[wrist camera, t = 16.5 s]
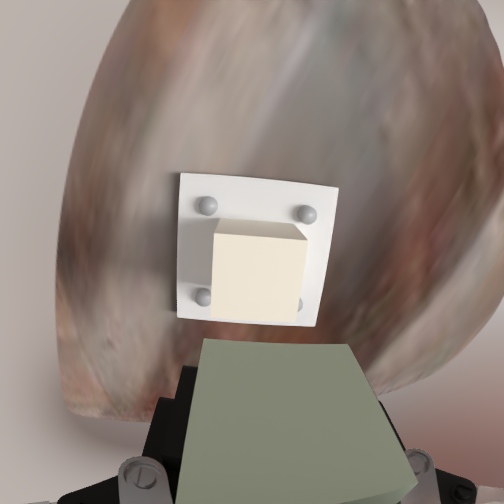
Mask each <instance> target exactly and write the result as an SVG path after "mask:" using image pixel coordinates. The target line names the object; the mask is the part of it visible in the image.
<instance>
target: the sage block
mask: <svg viewBox="0 0 504 504" xmlns="http://www.w3.org/2000/svg"><path fill="white" fill-rule="evenodd" d="M417 484H418V481H417V478H416V476H415V474H414V472H413V470H412V468H411V466H410V464H409V461H408V459H407V457H406V455H405V453H404V451H403V449H402V447H401V445H400V443H399V441H398V439H397V437H396V435H395V433H394V431H393V429H392V427H391V425H390V423H389V421H388V419H387V417H386V415H385V413H384V411H383V409H382V407H381V405H380V404H379V402H378V400H377V398H376V396H375V394H374V392H373V390H372V388H371V386H370V384H369V383H368V381H367V379H366V377H365V375H364V373H363V371H362V369H361V368H360V366H359V364H358V362H357V360H356V358H355V357H354V355H353V353H352V351H351V349H350V347H349V346H348V344H282V343H260V342H243V341H229V340H216V339H205V338H204V341H203V346H202V351H201V356H200V361H199V367H198V372H197V377H196V382H195V388H194V393H193V399H192V404H191V410H190V415H189V421H188V427H187V433H186V439H185V445H184V451H183V457H182V463H181V469H180V476H179V482H178V489H177V496H176V502H175V504H397V503H398V502H399V501H400V500H401V499H402V498H403V497H404V496H405V495H407V494H408V493H409V492H410V491H411V490H412V489H413V488H414V487H415V486H416V485H417Z"/></svg>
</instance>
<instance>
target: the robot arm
mask: <svg viewBox="0 0 504 504" xmlns="http://www.w3.org/2000/svg"><path fill="white" fill-rule="evenodd" d="M197 372H198V367H193V366H184V365H183V368H182V371H181V375H180V379H179V383H178V387H177V391H176V395H175V399H171V398H164V397H160V398H159V400H158V402H157V405H156V409H155V412H154V415H153V419H152V422H151V425H150V429H149V432H148V436H147V439H146V442H145V446H144V449H143V453H142V456H138V457H132V458H130V459H127V460H126V461H125V462H123V463H122V464H121V466H120V468H119V471H118V475H117V476H115V477H112V478H110V479H107V480H105V481H102V482H100V483H97V484H94V485H92V486H89V487H86V488H83V489H80V490H77V491H74V492H71V493H68V494H66V495H64V496H62V497H61V498H60V499H59V500H58V502H53V503H50V502H49V501H45V502H38V503H29V504H175V502H176V496H177V489H178V482H179V476H180V469H181V463H182V457H183V451H184V445H185V439H186V433H187V427H188V421H189V415H190V410H191V404H192V399H193V393H194V388H195V382H196V377H197ZM365 377H366V376H365ZM366 379H367V378H366ZM367 381H368V380H367ZM368 383H369V382H368ZM373 392H374V391H373ZM374 394H375V393H374ZM375 396H376V395H375ZM376 398H377V397H376ZM377 400H378V399H377ZM378 402H379V404H380V405H381V407H382V409H383V411H384V413H385V415H386V417H387V419H388V421H389V423H390V425H391V427H392V429H393V431H394V433H395V435H396V437H397V439H398V441H399V443H400V445H401V447H402V449H403V451H404V453H405V455H406V457H407V459H408V461H409V464H410V466H411V468H412V470H413V472H414V474H415V476H416V478H417V481H418V484H417V485H416V486H415V487H414V488H413V489H412V490H411V491H410V492H409V493H408V494H407V495H405V496H404V497H403V498H402V499H401V500H400V501H399V502H398V503H397V504H504V489H502V488H493V487H486V486H481V485H478V486H477V487H475V485H474V483H472V482H471V481H470V480H468V479H465V478H462V477H459V476H456V475H453V474H450V473H447V472H445V471H441V470H439V469H436V468H435V467H434V462H433V459H432V457H431V456H430V455H429V454H428V453H426V452H425V451H424V450H421V449H416V448H413V449H408V450H406V449H405V447H404V446H403V443H402V442H401V439H400V437H399V435H398V433H397V431H396V430H395V428H394V426H393V424H392V422H391V420H390V418H389V416H388V414H387V412H386V410H385V408H384V406H383V404H382V403H381V402H380V401H378Z"/></svg>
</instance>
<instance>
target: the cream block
mask: <svg viewBox="0 0 504 504" xmlns="http://www.w3.org/2000/svg"><path fill="white" fill-rule="evenodd" d="M307 247H308V240H307V238H306V237H305V236H304V235H303V234H302V233H301V231H300V230H299V229H298V228H297V227H296V226H295V225H294V224H291V223H280V222H268V221H256V220H243V219H230V218H220V220H219V223H218V225H217V227H216V230H215V232H214V244H213V264H212V288H211V318H222V319H236V320H252V321H271V322H296V317H297V311H298V305H299V299H300V293H301V287H302V281H303V274H304V267H305V261H306V254H307Z"/></svg>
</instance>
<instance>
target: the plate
mask: <svg viewBox="0 0 504 504" xmlns="http://www.w3.org/2000/svg"><path fill="white" fill-rule="evenodd" d="M338 189H339V188H336V187H330V186H323V185H315V184H308V183H300V182H291V181H282V180H273V179H263V178H253V177H241V176H229V175H215V174H198V173H181V176H180V192H179V211H178V238H177V317H180V318H190V319H200V320H211V321H223V322H236V323H250V324H267V325H288V326H315V323H316V319H317V314H318V309H319V304H320V299H321V294H322V289H323V284H324V279H325V273H326V268H327V262H328V256H329V250H330V244H331V238H332V232H333V225H334V218H335V211H336V204H337V196H338ZM220 218H230V219H243V220H256V221H268V222H280V223H291V224H294V225H295V226H296V227H297V228H298V229H299V230H300V231H301V233H302V234H303V235H304V236H305V237H306V238H307V240H308V247H307V254H306V261H305V267H304V274H303V281H302V287H301V293H300V299H299V305H298V311H297V317H296V322H271V321H252V320H236V319H222V318H211V288H212V264H213V244H214V232H215V230H216V227H217V225H218V223H219V220H220Z"/></svg>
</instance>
